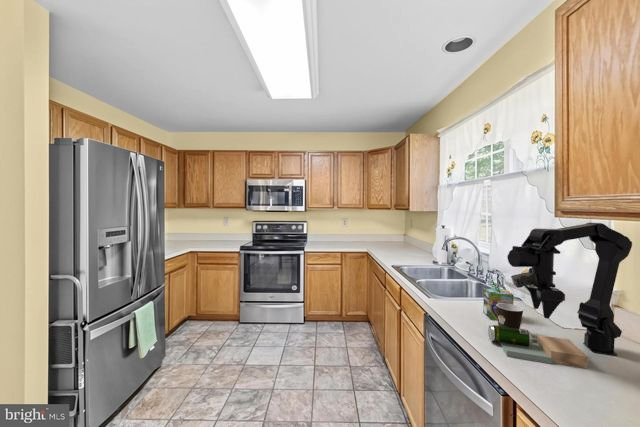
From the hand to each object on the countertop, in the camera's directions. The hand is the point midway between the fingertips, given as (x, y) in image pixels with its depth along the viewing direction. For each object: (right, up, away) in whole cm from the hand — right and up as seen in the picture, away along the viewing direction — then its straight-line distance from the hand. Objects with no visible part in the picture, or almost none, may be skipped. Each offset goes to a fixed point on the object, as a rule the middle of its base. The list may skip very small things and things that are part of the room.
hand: (540, 313), depth 97 cm
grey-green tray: (-6, -13, +1) cm, 14 cm away
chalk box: (+4, -12, +31) cm, 33 cm away
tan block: (+4, -13, -2) cm, 14 cm away
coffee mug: (-1, -13, +16) cm, 20 cm away
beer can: (-2, -9, +2) cm, 10 cm away
